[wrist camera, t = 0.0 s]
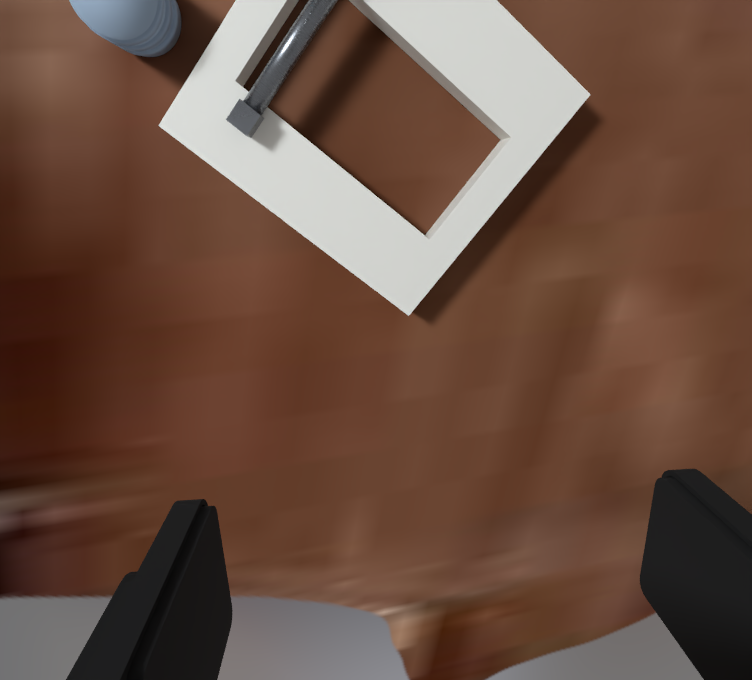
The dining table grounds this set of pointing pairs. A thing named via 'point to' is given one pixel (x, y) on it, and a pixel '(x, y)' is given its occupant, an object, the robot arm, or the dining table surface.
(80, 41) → the dining table surface
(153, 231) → the dining table surface
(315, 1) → the dark gray bar handle
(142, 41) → the stacked blue discs
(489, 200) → the white frame with handle
